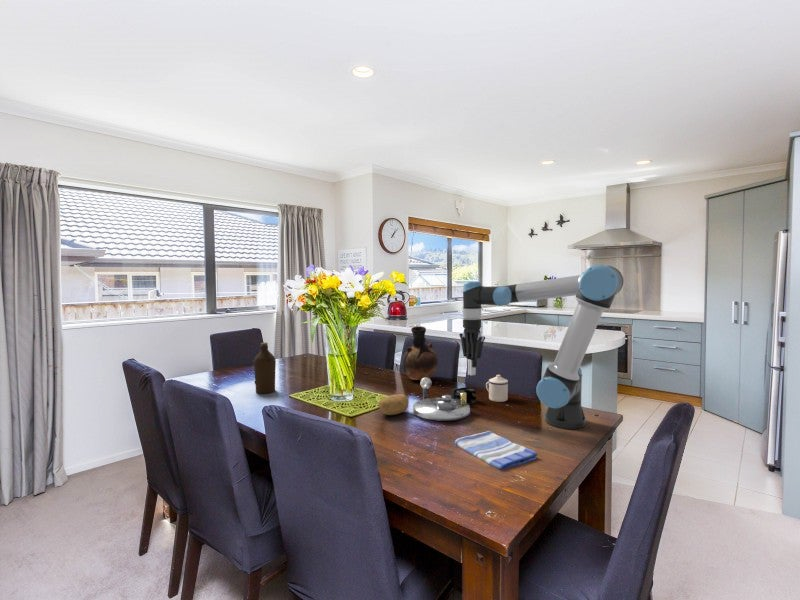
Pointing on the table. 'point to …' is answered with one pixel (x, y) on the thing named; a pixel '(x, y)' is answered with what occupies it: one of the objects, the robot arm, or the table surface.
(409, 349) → the ceramic vessel
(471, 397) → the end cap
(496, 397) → the teacup with lid
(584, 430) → the table surface
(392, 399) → the potato
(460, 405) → the turntable
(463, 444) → the dish towel
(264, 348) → the olive oil
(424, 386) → the dial stand
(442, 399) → the cover
